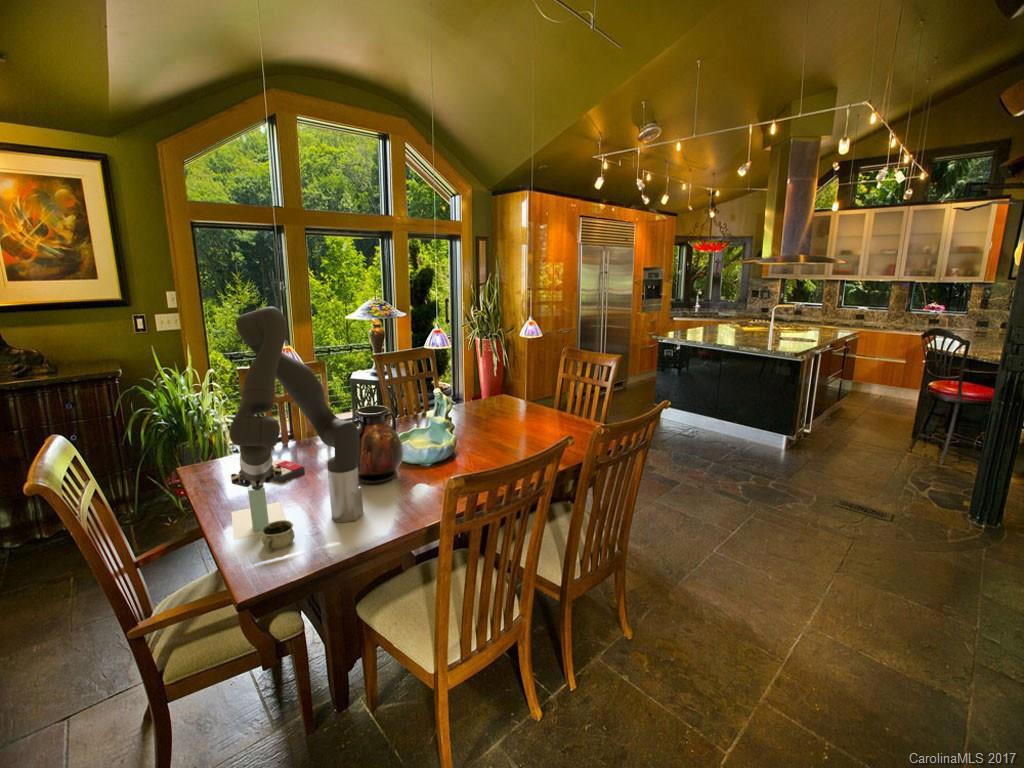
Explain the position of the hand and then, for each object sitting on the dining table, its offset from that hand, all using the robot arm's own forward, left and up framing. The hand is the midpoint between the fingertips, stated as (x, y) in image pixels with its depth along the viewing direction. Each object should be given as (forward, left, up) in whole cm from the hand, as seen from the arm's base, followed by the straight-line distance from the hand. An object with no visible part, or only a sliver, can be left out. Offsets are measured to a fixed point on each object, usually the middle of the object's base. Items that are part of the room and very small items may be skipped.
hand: (257, 487), depth 142 cm
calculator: (+27, -49, -19) cm, 59 cm away
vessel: (-4, -1, -19) cm, 20 cm away
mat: (+11, -13, -19) cm, 25 cm away
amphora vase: (-12, -52, -19) cm, 57 cm away
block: (+7, -8, -18) cm, 21 cm away
